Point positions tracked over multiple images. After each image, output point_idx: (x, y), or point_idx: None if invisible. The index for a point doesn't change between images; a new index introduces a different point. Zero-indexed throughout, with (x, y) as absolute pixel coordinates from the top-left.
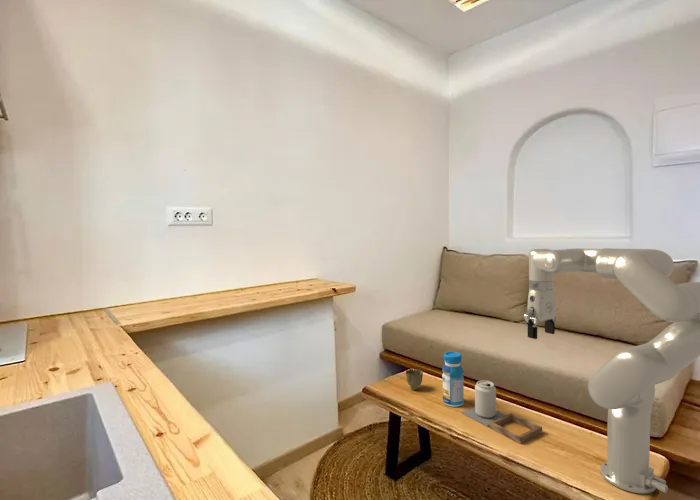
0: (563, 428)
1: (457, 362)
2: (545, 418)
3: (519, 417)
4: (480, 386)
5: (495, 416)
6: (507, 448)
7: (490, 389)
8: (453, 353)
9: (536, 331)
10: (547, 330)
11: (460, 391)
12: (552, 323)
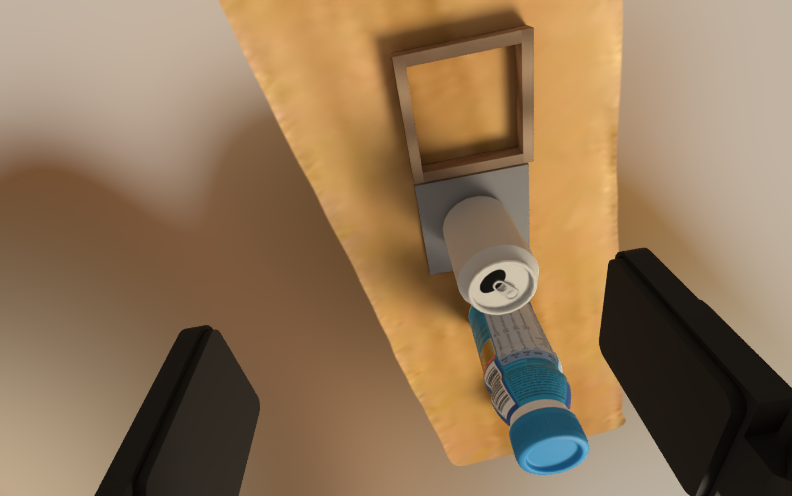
0: (289, 44)
1: (553, 412)
2: (299, 130)
3: (413, 148)
4: (535, 278)
5: (456, 201)
6: (588, 20)
7: (508, 253)
8: (531, 463)
9: (720, 328)
10: (239, 407)
11: (511, 320)
12: (150, 493)
